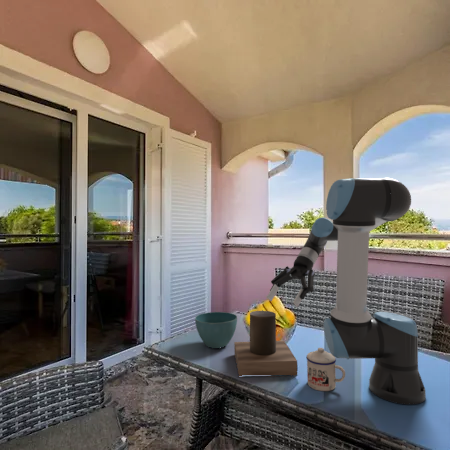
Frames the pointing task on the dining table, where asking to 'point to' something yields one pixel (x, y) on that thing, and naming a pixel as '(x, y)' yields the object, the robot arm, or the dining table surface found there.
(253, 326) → the pillar candle
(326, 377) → the teacup with lid
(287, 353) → the block
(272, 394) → the dining table surface
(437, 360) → the dining table surface
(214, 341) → the plant pot
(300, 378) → the dining table surface
